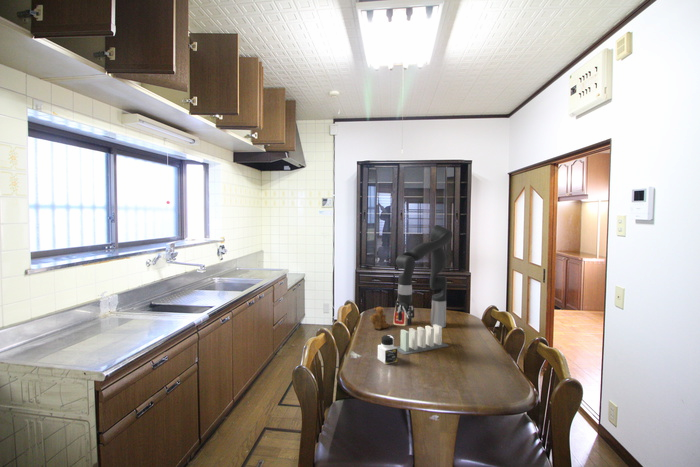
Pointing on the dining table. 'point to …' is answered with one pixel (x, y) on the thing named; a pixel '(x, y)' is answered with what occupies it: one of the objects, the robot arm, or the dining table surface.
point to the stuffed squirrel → (379, 319)
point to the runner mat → (420, 348)
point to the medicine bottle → (387, 350)
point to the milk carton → (403, 321)
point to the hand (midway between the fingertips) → (404, 322)
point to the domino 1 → (404, 340)
